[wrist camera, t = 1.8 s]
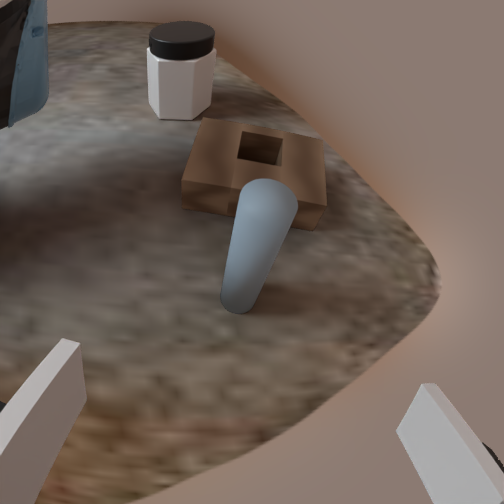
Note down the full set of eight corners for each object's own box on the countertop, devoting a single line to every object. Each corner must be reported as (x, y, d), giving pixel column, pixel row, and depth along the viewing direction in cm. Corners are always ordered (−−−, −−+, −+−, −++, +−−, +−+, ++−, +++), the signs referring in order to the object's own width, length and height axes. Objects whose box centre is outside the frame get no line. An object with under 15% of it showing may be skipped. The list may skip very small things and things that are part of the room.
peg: (217, 310, 28) (235, 219, 16) (222, 278, 30) (243, 173, 18) (253, 316, 29) (297, 230, 17) (257, 284, 30) (298, 184, 18)
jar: (176, 83, 45) (179, 16, 34) (219, 99, 44) (229, 28, 33) (137, 110, 40) (132, 36, 30) (182, 129, 39) (185, 48, 29)
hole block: (182, 208, 33) (181, 179, 29) (201, 145, 38) (203, 117, 34) (312, 231, 34) (326, 206, 30) (311, 166, 39) (322, 140, 36)
